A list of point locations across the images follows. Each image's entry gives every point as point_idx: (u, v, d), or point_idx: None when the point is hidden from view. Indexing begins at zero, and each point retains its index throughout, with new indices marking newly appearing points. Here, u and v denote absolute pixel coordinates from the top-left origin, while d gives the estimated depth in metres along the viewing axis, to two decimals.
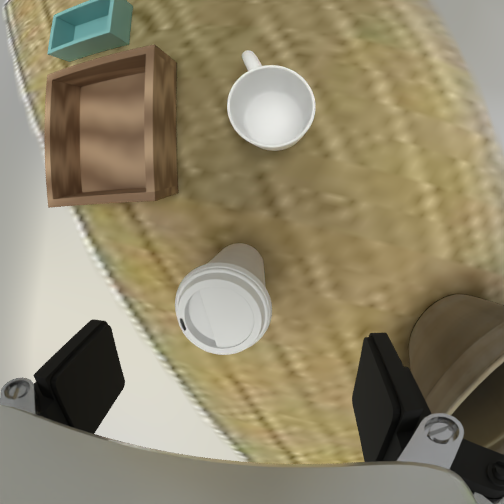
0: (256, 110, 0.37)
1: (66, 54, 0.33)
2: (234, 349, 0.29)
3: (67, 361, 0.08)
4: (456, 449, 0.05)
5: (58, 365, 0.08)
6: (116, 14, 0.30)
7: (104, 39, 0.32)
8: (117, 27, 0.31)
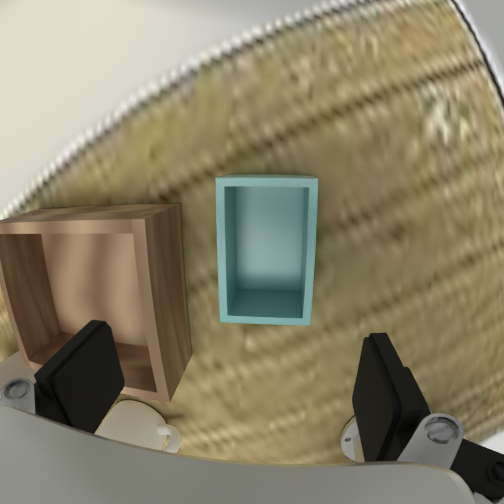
0: None
1: None
2: None
3: (67, 361, 0.08)
4: (456, 449, 0.05)
5: (58, 365, 0.08)
6: None
7: None
8: None
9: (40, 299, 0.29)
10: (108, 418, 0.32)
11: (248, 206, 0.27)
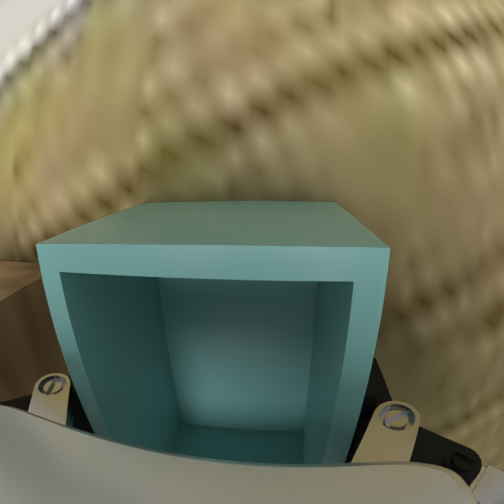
0: None
1: None
2: None
3: None
4: (415, 434, 0.05)
5: None
6: None
7: None
8: None
9: None
10: None
11: (184, 278, 0.11)
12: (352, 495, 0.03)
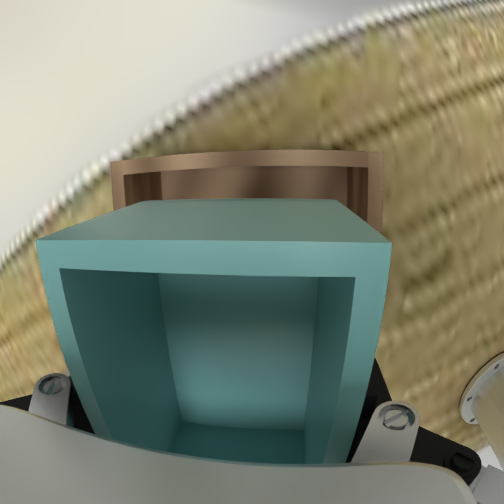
0: None
1: None
2: None
3: None
4: (415, 434, 0.05)
5: None
6: None
7: None
8: None
9: None
10: None
11: (185, 276, 0.11)
12: (352, 495, 0.03)
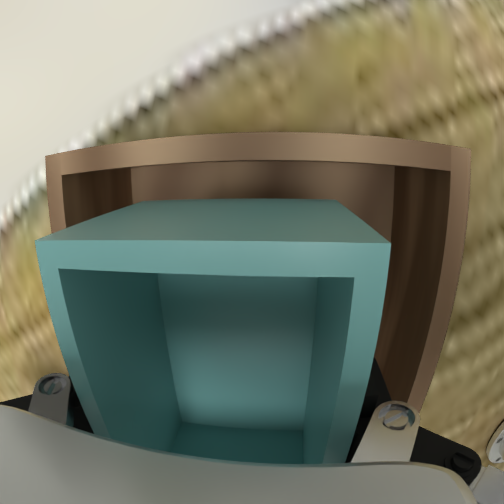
0: None
1: None
2: None
3: None
4: (415, 434, 0.05)
5: None
6: None
7: None
8: None
9: None
10: None
11: (184, 276, 0.11)
12: (352, 495, 0.03)
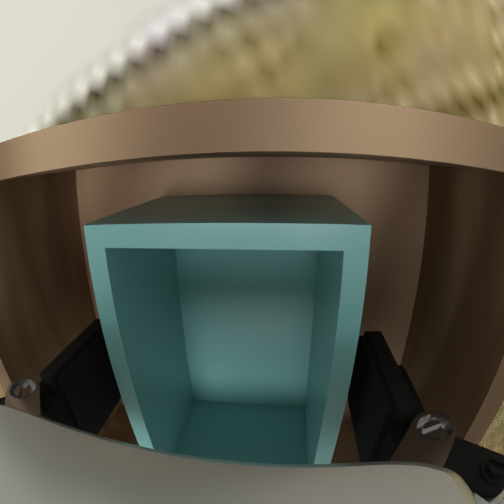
0: None
1: None
2: None
3: (73, 360, 0.08)
4: (450, 446, 0.05)
5: (64, 364, 0.08)
6: None
7: None
8: None
9: None
10: None
11: (200, 262, 0.13)
12: (352, 495, 0.03)
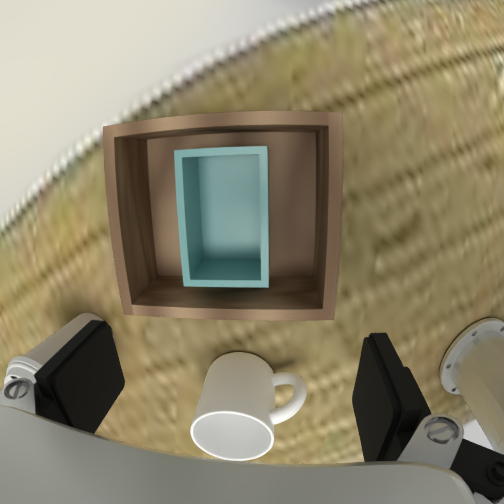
0: None
1: None
2: None
3: (67, 361, 0.08)
4: (456, 449, 0.05)
5: (58, 365, 0.08)
6: None
7: None
8: None
9: (144, 230, 0.29)
10: (215, 374, 0.32)
11: (210, 179, 0.29)
12: (352, 495, 0.03)
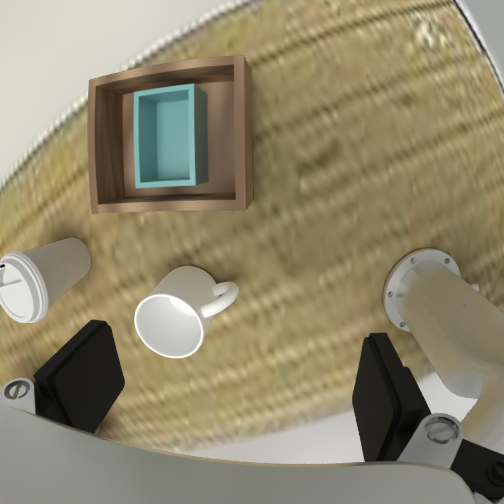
0: None
1: None
2: (0, 301, 0.31)
3: (67, 361, 0.08)
4: (456, 449, 0.05)
5: (57, 365, 0.08)
6: None
7: None
8: None
9: (115, 157, 0.36)
10: (163, 278, 0.39)
11: (164, 118, 0.36)
12: (352, 495, 0.03)
